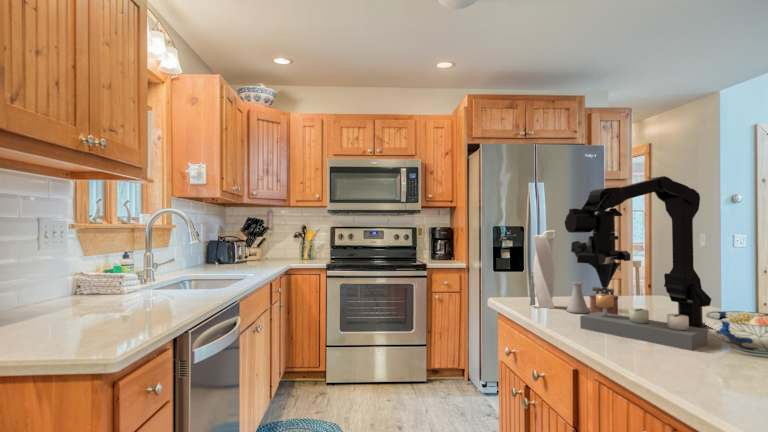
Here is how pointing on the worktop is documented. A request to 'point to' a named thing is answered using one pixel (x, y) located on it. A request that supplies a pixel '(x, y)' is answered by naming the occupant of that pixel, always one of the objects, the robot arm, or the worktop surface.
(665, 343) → the knob mount
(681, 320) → the knob
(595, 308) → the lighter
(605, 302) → the knob
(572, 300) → the flask
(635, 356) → the worktop surface
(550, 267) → the skyscraper
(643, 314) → the knob centre
